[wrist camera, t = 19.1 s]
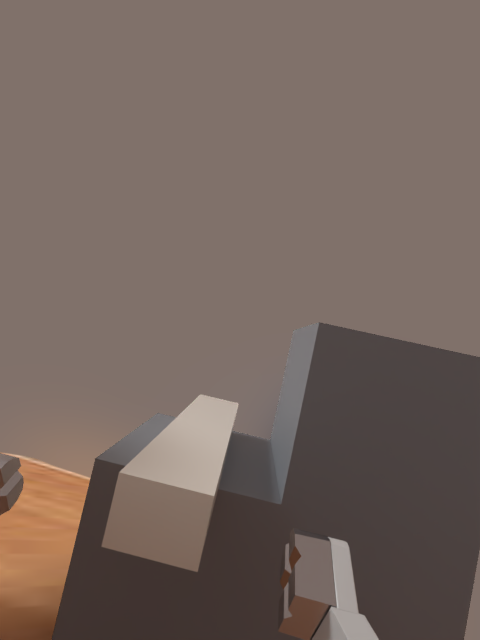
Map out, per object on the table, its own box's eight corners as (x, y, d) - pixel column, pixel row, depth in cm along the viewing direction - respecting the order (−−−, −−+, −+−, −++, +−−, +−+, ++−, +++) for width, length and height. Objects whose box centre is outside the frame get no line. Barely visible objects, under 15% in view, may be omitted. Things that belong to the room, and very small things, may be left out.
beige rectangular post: (101, 546, 14) (119, 472, 14) (194, 423, 35) (200, 394, 35) (197, 572, 13) (214, 495, 14) (232, 432, 34) (238, 403, 35)
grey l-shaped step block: (38, 695, 21) (137, 282, 22) (124, 553, 35) (182, 306, 36) (433, 811, 19) (511, 364, 21) (358, 615, 33) (408, 355, 35)
